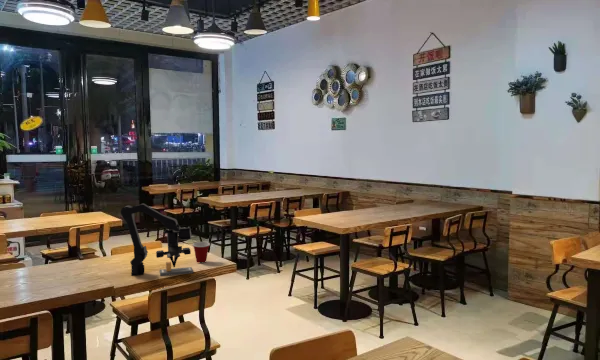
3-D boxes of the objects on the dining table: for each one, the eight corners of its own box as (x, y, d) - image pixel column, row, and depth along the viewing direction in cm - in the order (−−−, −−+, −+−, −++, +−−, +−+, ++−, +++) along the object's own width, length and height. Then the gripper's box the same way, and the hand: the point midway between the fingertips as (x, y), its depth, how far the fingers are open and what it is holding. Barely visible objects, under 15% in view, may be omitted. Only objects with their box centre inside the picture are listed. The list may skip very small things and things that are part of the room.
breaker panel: (160, 275, 248) (160, 273, 248) (159, 272, 255) (159, 269, 255) (193, 273, 254) (193, 270, 254) (191, 269, 262) (191, 266, 262)
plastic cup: (194, 265, 272) (193, 245, 272) (191, 261, 282) (191, 242, 282) (211, 263, 276) (211, 244, 276) (208, 259, 286) (208, 241, 286)
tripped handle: (166, 271, 251) (166, 263, 251) (166, 269, 255) (165, 261, 254) (171, 270, 252) (171, 263, 251) (170, 269, 255) (170, 261, 255)
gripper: (156, 245, 242) (157, 273, 243) (191, 241, 249) (192, 268, 250) (155, 241, 253) (156, 268, 254) (188, 237, 259) (190, 264, 260)
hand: (174, 267), depth 254 cm, fingers closed
